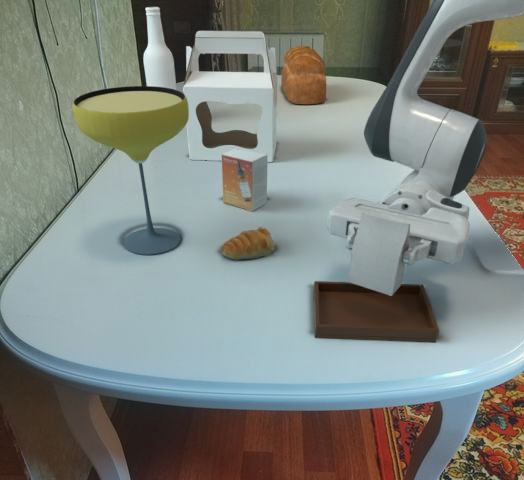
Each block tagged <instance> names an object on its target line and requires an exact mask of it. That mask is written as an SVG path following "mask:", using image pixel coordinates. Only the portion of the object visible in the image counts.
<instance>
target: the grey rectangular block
mask: <svg viewBox="0 0 524 480" xmlns="http://www.w3.org/2000/svg"><path fill="white" fill-rule="evenodd" d="M409 233H410V224H407V223H403V222H399V221H395V220H391V219H387V218H383V217H379V216H376V215H372V214H368V213H364V212H363V213H362V214H361V219H360V223H359V226H358V230H357V233H356V236H355V240H354V243H353V248H352V250H351V256H350V265H349V273H348V279H347V282H350V283H353V284H356V285H359V286H362V287H365V288H368V289H371V290H375V291H378V292H381V293H384V294H387V295H390V296H392V295H393V294H394V293H395V292H396V290H397V289H398V288H399V287H400V286H401V284H403V280H404V274H405V270H406V265H407V264H406V263H402V262H401V261H402V258H403V257H402V256H403V252H404V250H406V248H407V247H409Z"/></svg>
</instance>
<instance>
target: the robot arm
mask: <svg viewBox="0 0 524 480" xmlns="http://www.w3.org/2000/svg"><path fill="white" fill-rule="evenodd" d="M522 16H524V0H433V1H432V3H431V5H430V6H429V8H428V10H427V11H426V13H425V15H424V17H423V19H422V21H421V22H420V24H419V27H418V28H417V30H416V32H415V34H414V36H413V37H412V39H411V41H410V42H409V45H408V47H407V48H406V50H405V52H404V54H403V57H402V58H401V60H400V62H399V63H398V66H397V67H396V69H395V71H394V73H393V74H392V77H391V78H390V80H389V82H388V84H387V86H386V87H385V89H384V90H383V92H382V93H381V95H380V97H379V98H378V100H377V102H376V103H375V105H373V108H372V109H371V111H370V112H369V115H368V117H367V118H366V122H365V126H364V130H363V137H364V140H365V143H366V146H367V147H368V150H369V151H370V154H371V155H372V157H375V158H379V159H382V160H384V161H388V162H392V163H394V162H395V163H397V164H400V165H403V166H405V167H407V168H410V169H412V171H411V172H410V173H409V174H408V175H407V176H406V177H404V179H403V180H401V182H400V184H398V185H397V186H396V187H395V188H394V189H393V190H392V191H391V192H390V193H389V194H388V195H387V196H386V197H385V198H384V200H383V201H382V202H381V203H380V202H376V201H372V200H366V199H362V198H349V199H346V200H344V201H342V202H340V203H339V204H337V205H336V206H334V207H333V208H331V209H330V210H329V212H328V217H327V230H328V233H329V234H330V235H333V236H336V237H340V238H344V239H345V249H347V250H350V251H352V248H353V243H354V240H355V236H356V233H357V230H358V226H359V223H360V219H361V214H362V213H363V212H364V213H368V214H372V215H376V216H379V217H383V218H387V219H391V220H395V221H399V222H403V223H407V224H410V233H409V247H407V248H406V250H404V252H403V256H402V257H403V258H402V261H401V262H402V263H406V265H409V266H413V265H414V263H415V262H416V261H417V262H418V261H420V260H425V259H430V260H433V261H438V262H442V263H445V264H449V265H450V264H451V265H455V264H459V263H460V262H461V260H462V259H463V255H464V252H465V248H466V246H467V245H466V244H467V240H468V236H469V233H470V220H469V216H470V207H469V205H466V204H463V203H461V202H459V201H457V200H456V201H455V200H454V198H455V196H457V195H459V194H461V193H462V192H463V191H465V190H466V189H467V186H468V185H469V183H470V182H471V181H472V179H473V178H474V176H475V174H476V173H477V171H478V169H479V167H480V165H481V162H482V161H483V158H484V155H485V153H486V149H487V145H488V137H487V133H486V128H485V126H484V123H483V121H482V120H481V119H479V118H476V117H474V116H472V115H469V114H467V113H464V112H461V111H458V110H456V109H453V108H448V107H445V106H443V105H440V104H437V103H434V102H431V101H429V100H426V99H423V98H422V97H420V96H419V95H418V90H419V88H420V86H421V84H422V83H423V81H424V79H425V77H426V76H427V74H428V72H429V70H431V67H432V66H433V63H434V62H435V60H436V58H437V57H438V55H439V53H440V51H441V49H442V48H443V46H444V45H445V43H446V41H447V40H448V39H449V37H451V36H452V35H453V33H455V32H456V31H458V30H459V29H461V28H463V27H466V26H469V25H472V24H477V23H481V22H489V21H499V20H506V19H513V18H517V17H522Z"/></svg>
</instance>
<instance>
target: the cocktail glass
mask: <svg viewBox="0 0 524 480" xmlns="http://www.w3.org/2000/svg"><path fill="white" fill-rule="evenodd" d="M72 111H73V116H74V120H75V124H76V126H77V128H78V129H79V130H80V132H81V133H82V134H83V135H85V136H86V137H87V138H90V139H91V140H92V141H94V142H96V143H99V144H101V145H104V146H106V147H109V148H113V149H115V150H118V151H121V152H122V153H125V155H127V156H128V158H130V159H131V161H133V162H134V163H135V164H138V168H139V169H138V170H139V176H140V182H141V189H142V194H143V203H144V209H145V216H146V218H145V219H146V228H142V229H138V230H136V231H133V232H131V233H129V234H128V235H126V236H125V238H124V239H123V241H122V244H123V247H124V249H125V250H126V251H128V252H130V253H132V254H135V255H141V256H154V255H161V254H165V253H168V252H170V251H172V250H174V249H176V247H178V246H179V245H180V244H181V241H182V238H181V235H180V233H179V232H177V231H175V230H173V229H171V228H166V227H154V224H153V221H152V216H151V211H150V205H149V199H148V191H147V186H146V181H145V180H146V179H145V172H144V166H143V164H144V163H145V162H146V161H147V160H148V158H149V156H150V154H151V153H152V151H153V150H155V149H156V148H157V147H159V146H161V145H163V144H165V143H167V142H168V141H170V140H172V139H173V138H174V137H176V136H178V135H179V134H180V133H181V131H182V130H183V129H184V128H185V127H186V126H187V125H186V124H187V122H188V116H189V108H188V102H187V98H186V96H185V94H184V92H183V91H180V90H178V89H177V90H175V89H170V88H164V87H154V86H147V85H129V86H118V87H110V88H109V87H108V88H103V89H97V90H93V91H90V92H86V93H83V94H81V95H78V96H77V97H75V99H74V100H73V102H72Z"/></svg>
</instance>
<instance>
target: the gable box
mask: <svg viewBox="0 0 524 480" xmlns="http://www.w3.org/2000/svg"><path fill="white" fill-rule="evenodd" d="M201 54H202V55H206V54H232V55H236V54H237V55H261V56H262V59H263V71H241V70H240V71H239V70H236V71H235V70H234V71H232V70H228V71H227V70H200V63H199V62H200V61H199V57H200V55H201ZM185 57H186V58H185V59H186V60H185V61H186V65H185V67H186V70H185V71H186V73H185V77H184V81H183V85H182V90H183V91H182V93H184V94H185V96H186V98H187V102H188V108H189V116H188V122H187V124H186V125H185V126H186V135H187V142H188V143H187V146H188V158H189V160H190V161H205V160H207V161H208V162H209V161H210V162H222V154H224V153H226V152H228V151H231V150H233V149H236V148H240V149H243V150H247V151H251V152H256V153H260V154H267V163H274V158H275V154H276V150H277V138H278V137H277V134H278V133H277V130H278V129H277V128H278V126H277V125H278V74H277V73H278V70H277V52H276V46H271V47H269V45H268V44H267V41H266V35H265V33H264V32H263V31H261V30H198V31H196V33H195V37H194V44H193V45H192V46H191V45H186V46H185ZM207 102H218V103H223V104H228V105H242V104H243V105H244V104H254V105H257V106H259V107H260V108H261V110H262V111H261V116H260V119H259V122H258V125H257V129H256V133H251V132H249V131H246V130H242V129H232V130H226V131H222V132H216V131H215V130H213V128H212V123H213V122H212V121H213V117H212V112H211V109H210V106H209V105H208V103H207Z"/></svg>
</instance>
